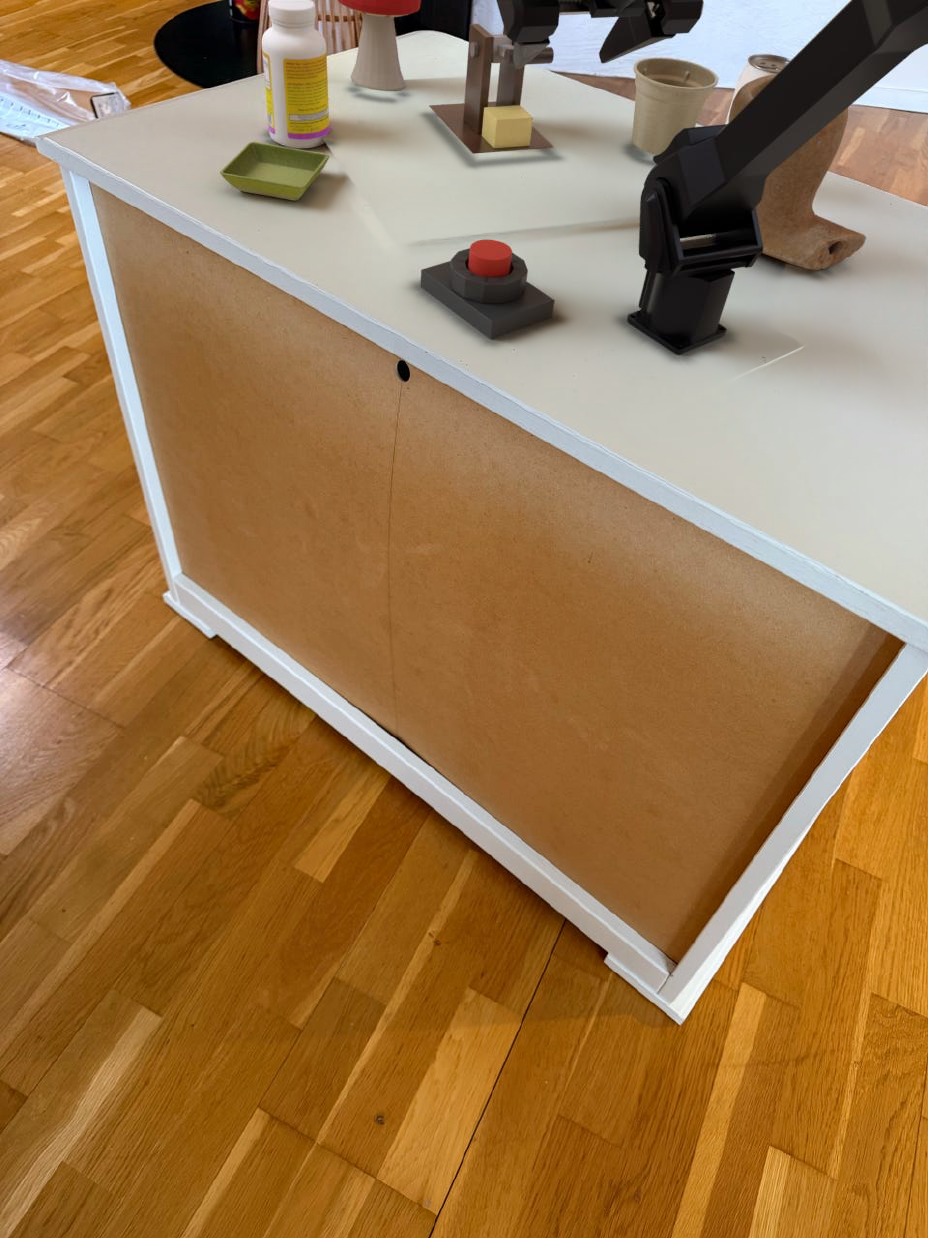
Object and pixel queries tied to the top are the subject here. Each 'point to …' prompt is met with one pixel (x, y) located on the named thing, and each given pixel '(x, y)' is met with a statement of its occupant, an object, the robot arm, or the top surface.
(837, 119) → the clay smoking pipe
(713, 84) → the flower pot
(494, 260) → the button
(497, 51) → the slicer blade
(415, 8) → the decorative mushroom
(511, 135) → the butter
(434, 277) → the box
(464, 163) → the top surface
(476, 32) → the slicer
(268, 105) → the supplement bottle
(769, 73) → the can
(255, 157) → the olive green shallow tray
